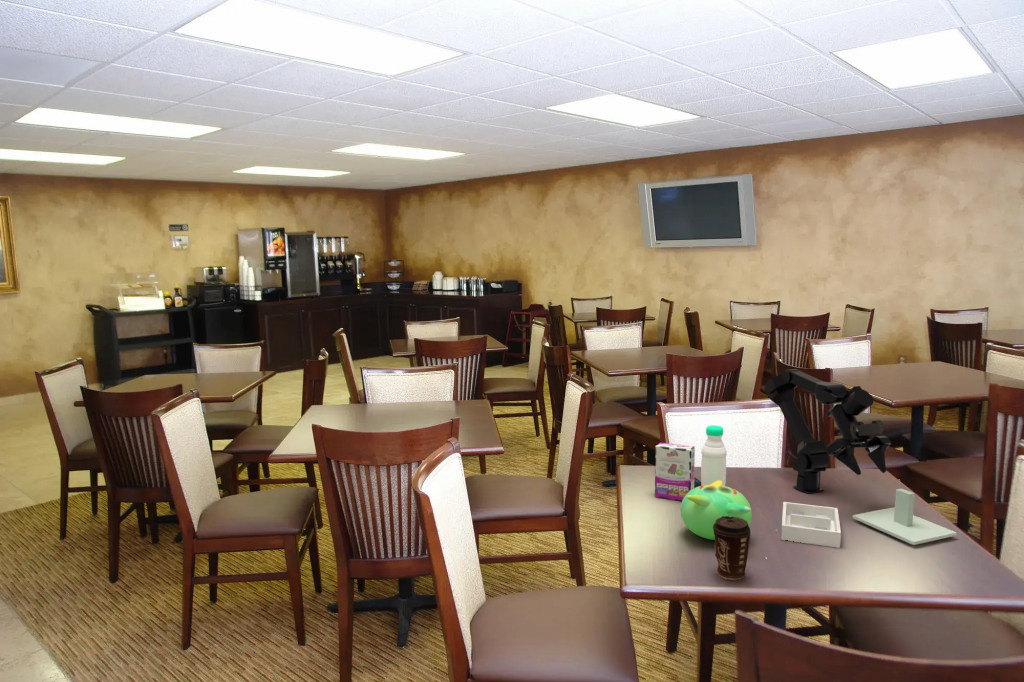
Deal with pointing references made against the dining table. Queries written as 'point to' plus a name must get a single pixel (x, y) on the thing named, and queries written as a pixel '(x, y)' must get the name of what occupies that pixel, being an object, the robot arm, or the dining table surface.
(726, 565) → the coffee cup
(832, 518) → the tub
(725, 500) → the toy bird
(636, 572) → the dining table surface
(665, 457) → the candy bar box
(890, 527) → the lid
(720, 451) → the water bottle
